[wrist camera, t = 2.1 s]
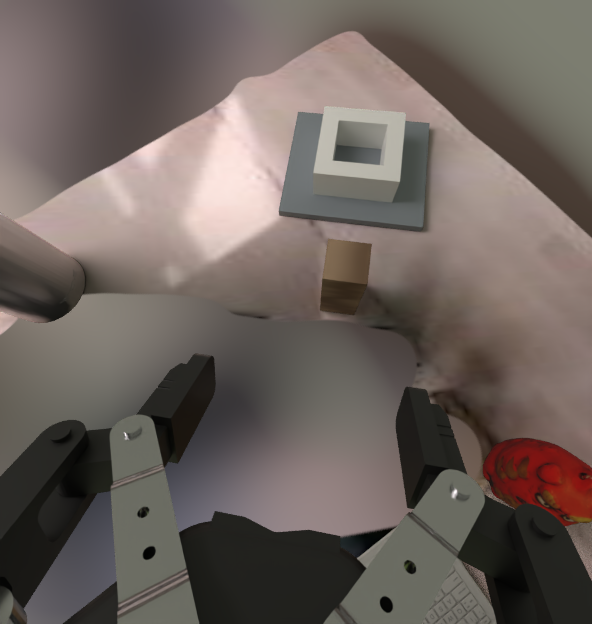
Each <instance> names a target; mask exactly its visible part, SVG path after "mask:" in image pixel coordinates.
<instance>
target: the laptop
mask: <svg viewBox="0 0 592 624" xmlns="http://www.w3.org/2000/svg"><path fill="white" fill-rule="evenodd" d="M397 527H398V526H397ZM397 527H396V528H397ZM396 528H395V529H396ZM395 529H393V530H392V531H391V532H390V533H388V534H387V535H386V536H385V537H383V538H382V539H381V540H380V541H378V542H377V543H376V544H375V545H373V546H372V547H371V548H370V549H368V550H367V551H366V552H365V553H363V554H362V555H361V556H360V557H358V558H357V559H358V560H359V561H360V562H361V563H362V564H363V565H364V566H365V567H366V568H367V567H368V566H369V564H370V563H371V562H372V560H373V559H374V558H375V556H376V555H377V554H378V552H379V551H380V550H381V548H382V547H383V545H384V544H385V543H386V541H387V540H388V539H389V537H390V536H391V535H392V533H393V532H394V531H395ZM422 624H497V623H496V619H495V614H494V610H493V607H492V605H491V604H490V602H489V601H488V599H487V598H486V597H485V595H484V594H483V592H482V591H481V589H480V588H479V587H478V585H477V584H476V582H475V581H474V579H473V578H472V577H471V575H470V574H469V572H468V571H467V570H466V568H465V567H464V564H463V563H462V562H461V560H460V559H458V558H456V560H455V562H454V564H453V566H452V568H451V570H450V572H449V573H448V575H447V577H446V579H445V581H444V583H443V585H442V587H441V588H440V590H439V592H438V594H437V596H436V598H435V600H434V602H433V604H432V605H431V607H430V609H429V611H428V613H427V615H426V617H425V619H424V620H423V622H422Z"/></svg>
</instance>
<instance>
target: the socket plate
mask: <svg viewBox="0 0 592 624" xmlns="http://www.w3.org/2000/svg"><path fill="white" fill-rule="evenodd" d="M405 118H406V113H402V112H390V111H378V110H366V109H354V108H342V107H330V106H325V108H324V114H317V113H305V112H298V116H297V121H296V126H295V131H294V136H293V141H292V146H291V151H290V156H289V161H288V167H287V172H286V177H285V182H284V187H283V192H282V197H281V202H280V207H279V215H281V216H289V217H298V218H307V219H316V220H324V221H333V222H342V223H351V224H359V225H368V226H377V227H386V228H394V229H403V230H412V231H421V230H422V228H423V219H424V203H425V187H426V171H427V155H428V139H429V123H422V122H410V121H405Z"/></svg>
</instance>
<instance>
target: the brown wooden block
mask: <svg viewBox="0 0 592 624" xmlns="http://www.w3.org/2000/svg"><path fill="white" fill-rule="evenodd" d="M371 246H372V244H367V243H359V242H350V241H342V240H333V239H328V245H327V251H326V258H325V265H324V272H323V278H322V291H321V305H320V310H322V311H329V312H336V313H343V314H350V315H354V313H355V311H356V309H357V307H358V304H359V302H360V300H361V298H362V295H363V293H364V291H365V289H366V286H367V283H368V273H369V264H370V255H371Z"/></svg>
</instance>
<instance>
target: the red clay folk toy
mask: <svg viewBox="0 0 592 624" xmlns="http://www.w3.org/2000/svg"><path fill="white" fill-rule="evenodd" d="M483 474H484V477H485V478H486V479H487V480H488V481H489V483H490V485H491V490H492V492H493V494H494V496H496V497H497V498H499V499H502V500H503V501H504V502H506V503H507V504H508V505H510V506H512V507H513V508H515V509H516V508H517V507H518V506H519V505H521V504H533V505H537V506H539V507H542V508H543V509H545V510H547V511H548V512H550V513H551V514H553V515H554V516H555V517H556V518H557V519H558V520H559V521H560V522H561V523H562V524H563V525H564V526H569V525H571V524H577V523H579V522H580V523H589V522H591V521H592V468H591V467H590V466H589V465H587V464H586V463H584V462H583V461H581V460H580V459H578V458H577V457H576V456H574V455H573V454H571V453H570V452H568V451H566V450H565V449H563V448H561V447H559V446H557V445H555V444H552V443H549V442H545V441H541V440H536V439H530V438H516V439H510V440H506V441H503V442H501V443H497V444H496V445H495V446H494V447H493V448H492V449H491V452H490V453H489V454H488V456H487V458H486V460H485V462H484V464H483Z"/></svg>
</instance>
